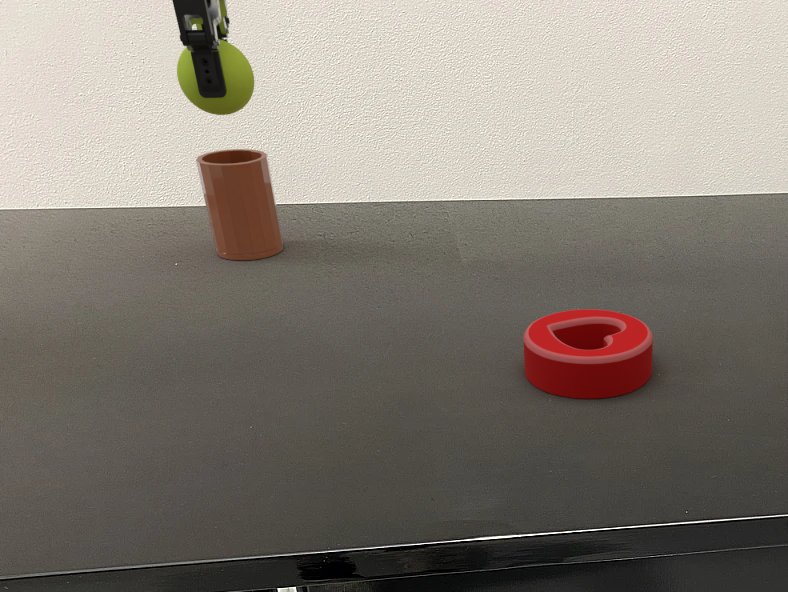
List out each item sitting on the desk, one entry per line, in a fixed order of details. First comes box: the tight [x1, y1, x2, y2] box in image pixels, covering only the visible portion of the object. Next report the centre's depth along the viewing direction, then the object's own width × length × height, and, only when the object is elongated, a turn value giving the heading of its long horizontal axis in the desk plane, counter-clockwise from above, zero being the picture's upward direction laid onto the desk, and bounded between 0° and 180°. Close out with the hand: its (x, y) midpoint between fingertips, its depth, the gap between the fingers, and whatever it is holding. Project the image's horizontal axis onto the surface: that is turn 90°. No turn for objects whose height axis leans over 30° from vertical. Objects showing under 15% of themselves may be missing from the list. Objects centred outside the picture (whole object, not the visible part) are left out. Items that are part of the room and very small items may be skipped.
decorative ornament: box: [522, 308, 654, 400], centre depth 72 cm, size 10×10×3 cm
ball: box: [176, 39, 255, 116], centre depth 87 cm, size 6×6×6 cm
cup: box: [195, 148, 284, 261], centre depth 93 cm, size 6×6×9 cm
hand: (218, 89), depth 87 cm, fingers closed on ball, 6 cm apart
